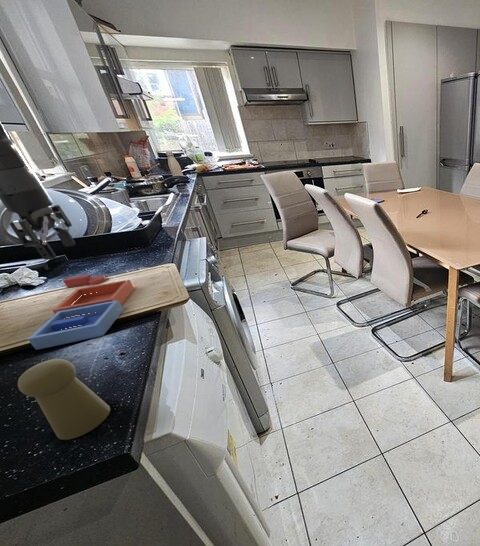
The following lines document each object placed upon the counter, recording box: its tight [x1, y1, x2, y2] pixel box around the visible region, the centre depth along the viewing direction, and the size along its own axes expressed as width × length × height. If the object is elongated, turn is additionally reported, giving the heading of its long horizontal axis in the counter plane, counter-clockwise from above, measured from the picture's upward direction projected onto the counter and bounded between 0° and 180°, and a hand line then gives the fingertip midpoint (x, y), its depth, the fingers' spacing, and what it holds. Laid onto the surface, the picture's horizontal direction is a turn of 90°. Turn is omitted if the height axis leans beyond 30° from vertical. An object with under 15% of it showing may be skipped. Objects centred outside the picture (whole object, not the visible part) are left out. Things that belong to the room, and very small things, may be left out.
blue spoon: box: [51, 315, 101, 332], centre depth 67 cm, size 8×3×2 cm, turn 110°
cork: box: [17, 358, 111, 441], centre depth 44 cm, size 6×6×11 cm
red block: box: [62, 274, 107, 289], centre depth 85 cm, size 8×3×2 cm, turn 110°
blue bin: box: [27, 300, 124, 351], centre depth 67 cm, size 11×10×3 cm
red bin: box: [51, 279, 135, 315], centre depth 76 cm, size 11×10×3 cm
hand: (61, 251), depth 81 cm, fingers open, 8 cm apart
